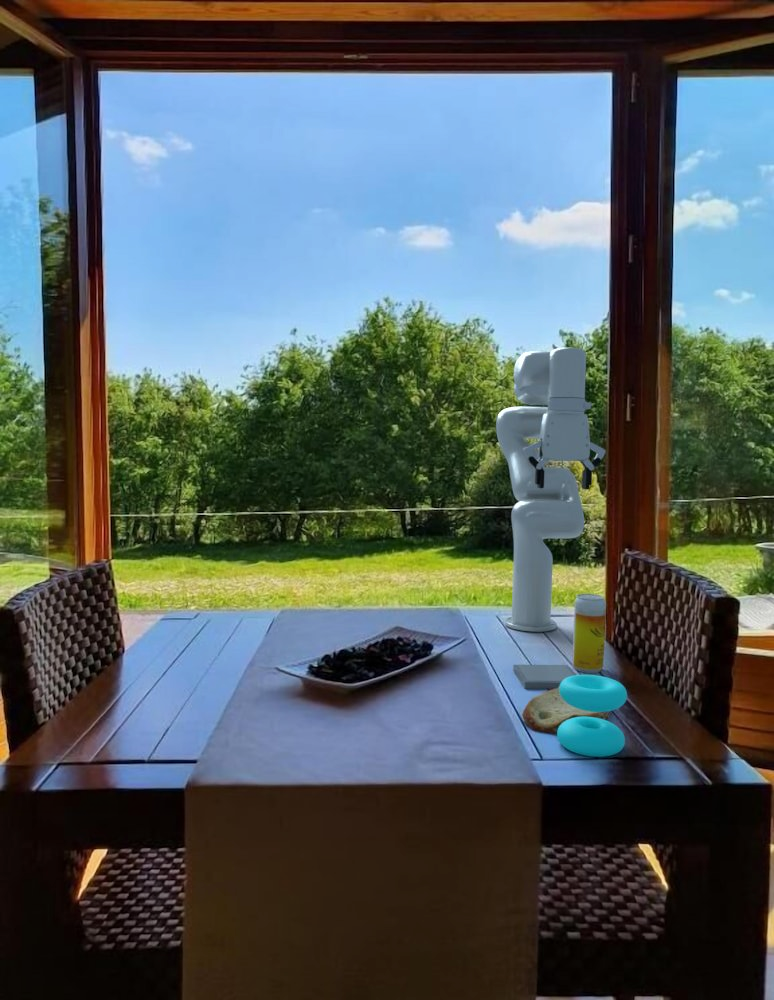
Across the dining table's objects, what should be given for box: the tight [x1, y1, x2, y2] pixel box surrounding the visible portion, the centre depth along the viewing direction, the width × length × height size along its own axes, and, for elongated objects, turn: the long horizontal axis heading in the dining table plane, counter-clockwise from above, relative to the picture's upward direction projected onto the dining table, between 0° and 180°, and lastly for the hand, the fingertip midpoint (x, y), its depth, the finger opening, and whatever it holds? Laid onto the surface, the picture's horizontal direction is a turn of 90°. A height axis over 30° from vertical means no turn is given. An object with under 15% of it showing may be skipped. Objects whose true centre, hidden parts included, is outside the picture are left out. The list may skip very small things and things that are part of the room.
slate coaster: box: [512, 664, 577, 690], centre depth 149 cm, size 11×11×1 cm
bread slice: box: [521, 687, 611, 736], centre depth 131 cm, size 18×18×4 cm
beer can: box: [571, 593, 607, 674], centre depth 156 cm, size 6×6×15 cm
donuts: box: [556, 674, 628, 758], centre depth 117 cm, size 10×10×10 cm
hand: (563, 488), depth 163 cm, fingers open, 9 cm apart
